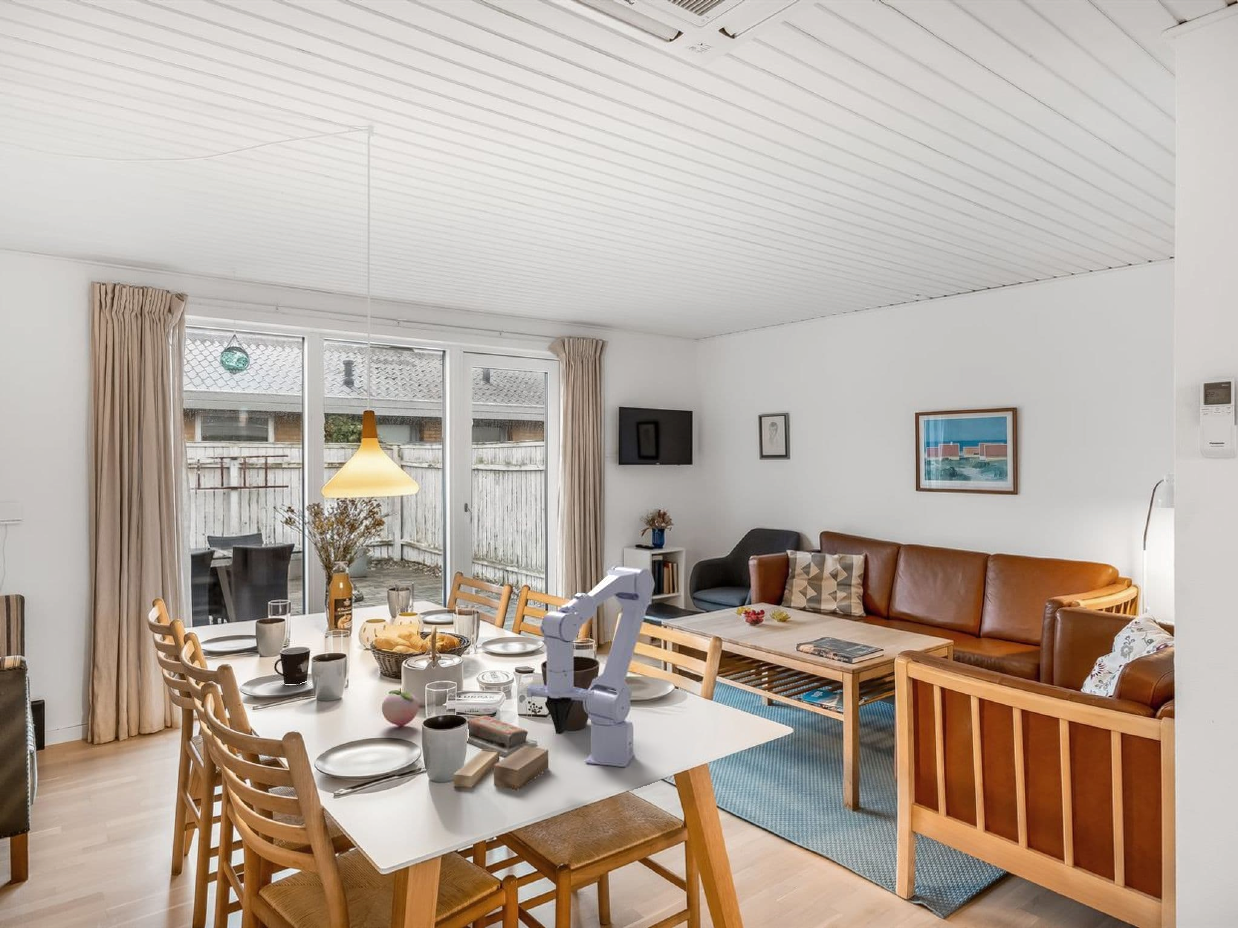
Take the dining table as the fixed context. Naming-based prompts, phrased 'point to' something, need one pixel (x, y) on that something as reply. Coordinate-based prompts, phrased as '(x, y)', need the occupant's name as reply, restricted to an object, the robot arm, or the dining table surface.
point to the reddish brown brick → (497, 735)
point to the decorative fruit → (400, 707)
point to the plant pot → (583, 678)
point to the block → (520, 767)
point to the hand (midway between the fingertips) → (560, 732)
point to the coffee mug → (294, 664)
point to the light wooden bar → (476, 768)
